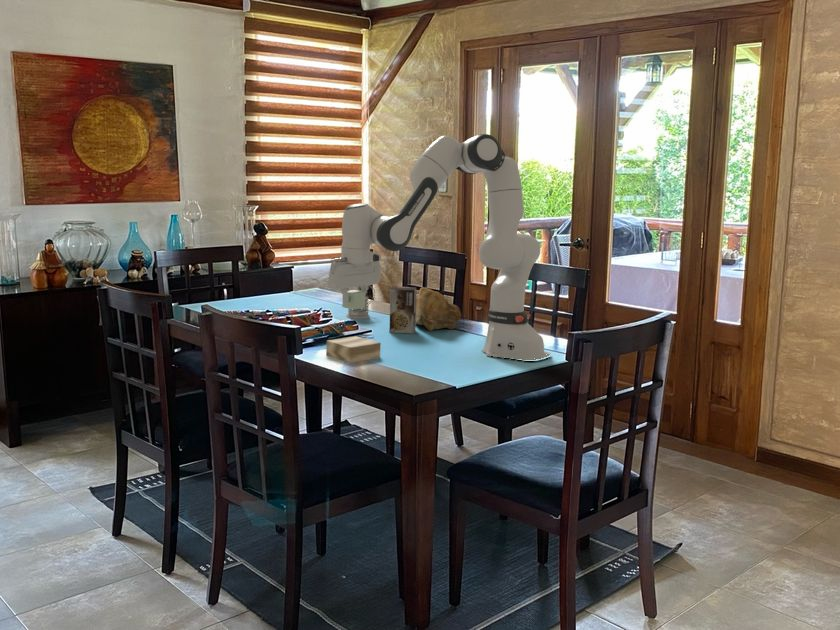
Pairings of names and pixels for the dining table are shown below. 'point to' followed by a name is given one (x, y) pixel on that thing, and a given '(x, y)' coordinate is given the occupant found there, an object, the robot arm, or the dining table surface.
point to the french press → (361, 312)
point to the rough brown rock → (435, 310)
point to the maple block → (353, 349)
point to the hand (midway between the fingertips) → (354, 300)
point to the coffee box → (402, 309)
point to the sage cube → (355, 300)
